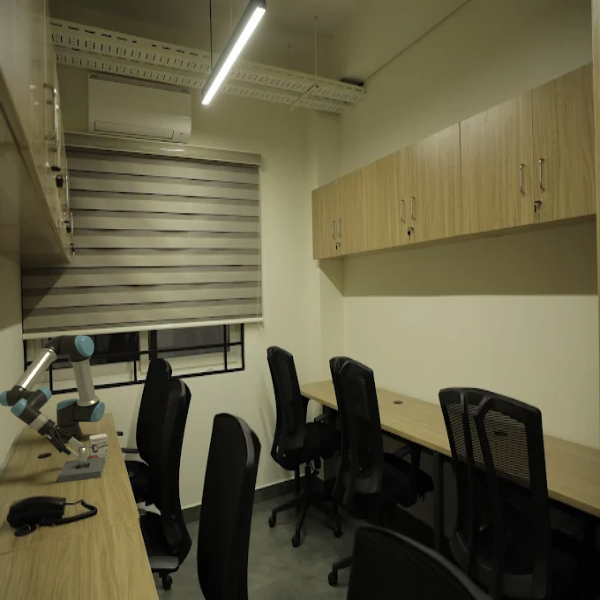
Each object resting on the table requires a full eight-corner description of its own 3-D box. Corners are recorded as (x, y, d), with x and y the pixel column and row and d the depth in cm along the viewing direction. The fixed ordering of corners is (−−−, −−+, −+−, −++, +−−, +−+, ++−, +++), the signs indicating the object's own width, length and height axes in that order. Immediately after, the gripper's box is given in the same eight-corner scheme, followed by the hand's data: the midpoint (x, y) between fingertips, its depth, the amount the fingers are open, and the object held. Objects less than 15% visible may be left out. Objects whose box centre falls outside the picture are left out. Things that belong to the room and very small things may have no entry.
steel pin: (79, 471, 215) (78, 446, 214) (88, 470, 216) (87, 445, 215) (77, 474, 211) (77, 449, 210) (86, 473, 212) (86, 448, 212)
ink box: (90, 461, 227) (90, 438, 226) (89, 458, 231) (88, 436, 230) (108, 457, 231) (108, 435, 231) (106, 454, 235) (106, 433, 235)
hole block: (66, 467, 219) (66, 461, 219) (105, 462, 225) (105, 456, 224) (58, 482, 202) (58, 476, 202) (100, 477, 207) (100, 471, 207)
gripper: (42, 422, 218) (76, 449, 223) (29, 439, 194) (67, 468, 199) (54, 411, 219) (88, 437, 224) (42, 426, 195) (80, 455, 201)
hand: (78, 452), depth 212 cm, fingers open, 13 cm apart
